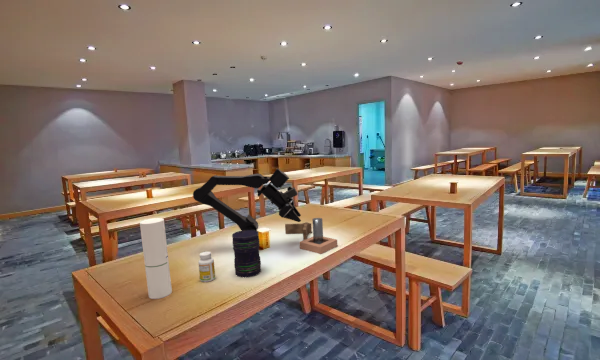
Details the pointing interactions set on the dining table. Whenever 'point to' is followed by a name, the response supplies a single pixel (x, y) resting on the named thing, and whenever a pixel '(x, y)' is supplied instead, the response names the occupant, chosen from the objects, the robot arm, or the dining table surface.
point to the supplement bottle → (206, 267)
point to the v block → (299, 229)
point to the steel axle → (317, 230)
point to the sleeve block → (318, 245)
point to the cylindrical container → (156, 257)
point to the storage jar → (246, 253)
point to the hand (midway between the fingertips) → (300, 218)
